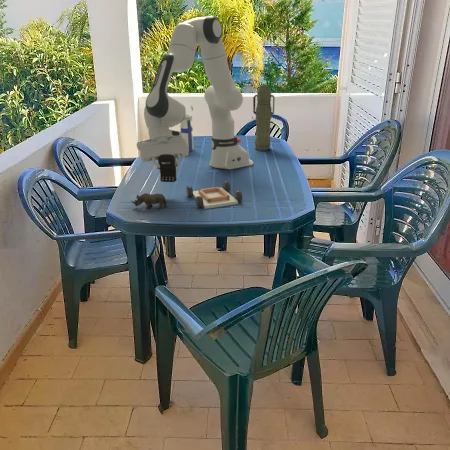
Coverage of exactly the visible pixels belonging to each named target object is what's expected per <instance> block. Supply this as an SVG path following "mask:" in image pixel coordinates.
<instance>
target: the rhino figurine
mask: <svg viewBox="0 0 450 450" xmlns="http://www.w3.org/2000/svg"><path fill="white" fill-rule="evenodd" d="M135 198H136V199H134V201H133V200H131V199H130V200H131V203H132V204H134V205H135V207H138V206H140V205H142V204H143V203H145V205H146V207H145V210H150V208H152V207H153V205H157V204H158V205H159V206H158V208H157V209H158V210H163V208H164V209H166V208H168V205H167V200H166V197H165V195H164V194H162V193H154V194H151V193H146V192H145V193H142V194H141V195H139V194H137V195H136V196H135Z"/></svg>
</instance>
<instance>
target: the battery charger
mask: <svg viewBox="0 0 450 450" xmlns="http://www.w3.org/2000/svg"><path fill="white" fill-rule="evenodd" d="M176 161H177V158H176V157H175V155H173V154H161V155H160V156H159V158H158V160H157V162H158V163H157V164H160V165H159V166H160V169H159V174H160V182H162V183H175V182H176V181H177V180H178V175H177V167H176Z"/></svg>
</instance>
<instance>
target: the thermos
mask: <svg viewBox="0 0 450 450" xmlns="http://www.w3.org/2000/svg"><path fill="white" fill-rule="evenodd" d="M256 93H257V94H255V95H254V96H253V98H252V99H253V100H252V102H253V103H252V104H253V108H252V109H253V114H255V119H256V120H255V121H256V123H255V124H256V125H255V126H256V128H255V130H256V131H255V139H254V146H255V147H254V148H255V150H256V149H258V150H257V151H260V150H266V151H269V150H268V149H270V150H271V143H272V142H271V119H272V115H274V114H275V101H276V100H275V99H276V98H275V95H274V94H272V89H271V87H270V86H269V85H260V86H258V89H257V92H256ZM256 98H257V99H256ZM271 98H273V100H272V99H271ZM256 101H257V102H256ZM271 101H273V102H272V103H271Z"/></svg>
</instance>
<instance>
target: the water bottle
mask: <svg viewBox="0 0 450 450" xmlns="http://www.w3.org/2000/svg"><path fill="white" fill-rule="evenodd" d="M190 108H191V111H194V107H193V106H191V107H190ZM192 121H193V115H189V114H185V118H184V119H183V121H182V122H181V123H180V124H179V128H180V132H181V133H182V138H184V139H185V141H186V143H187V145H188V148H189V152H192V151H194V139H193V138H194V137H193V130H194V128H193V125H192Z"/></svg>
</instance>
